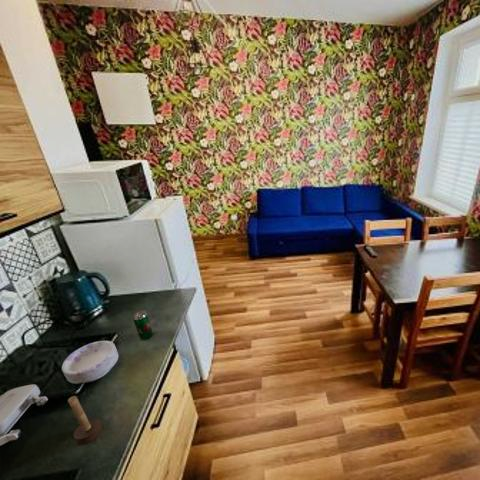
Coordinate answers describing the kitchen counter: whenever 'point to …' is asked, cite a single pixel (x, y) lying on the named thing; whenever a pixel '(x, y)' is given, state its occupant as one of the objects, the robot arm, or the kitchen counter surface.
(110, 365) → the paper bowls
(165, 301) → the kitchen counter surface
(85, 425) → the toilet plunger
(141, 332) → the soda can
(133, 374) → the kitchen counter surface
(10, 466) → the kitchen counter surface
